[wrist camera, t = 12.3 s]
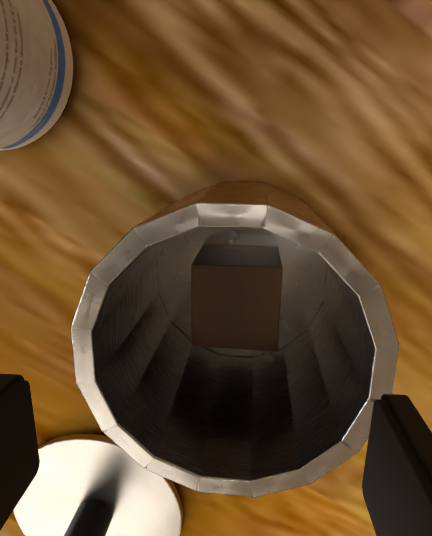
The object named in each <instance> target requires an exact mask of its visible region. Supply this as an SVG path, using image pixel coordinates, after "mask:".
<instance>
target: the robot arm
mask: <svg viewBox="0 0 432 536" xmlns="http://www.w3.org/2000/svg"><path fill="white" fill-rule="evenodd" d="M39 464H40V459H39V451H38V444H37V437H36V429H35V422H34V414H33V407H32V400H31V392H30V386H29V383H28V381H25V380H24V378H23V377H22V376H21V375H14V374H0V530H1V528H2V527H3V525H4V524H5V522H6V521H7V519H8V518H9V516H10V515H11V513H12V511H13V510H14V508H15V507H16V505H17V504H18V502H19V501H20V499H21V498H22V496H23V495H24V493H25V491H26V490H27V488H28V487H29V485H30V484H31V482H32V481H33V479H34V478H35V476H36V474H37V472H38V469H39ZM362 489H363V496H364V500H365V503H366V506H367V508H368V511H369V514H370V517H371V520H372V523H373V526H374V529H375V532H376V535H377V536H432V432H431V431H430V429H429V428H428V426H427V425H426V423H425V422H424V420H423V419H422V417H421V416H420V414H419V413H418V411H417V409H416V408H415V406H414V405H413V403H412V402H411V400H410V399H409V397H408V396H406V395H394V394H383V395H382V397H381V400H380V399H376V400H375V401H374V404H373V411H372V418H371V425H370V432H369V439H368V446H367V453H366V460H365V467H364V474H363V482H362Z"/></svg>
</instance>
